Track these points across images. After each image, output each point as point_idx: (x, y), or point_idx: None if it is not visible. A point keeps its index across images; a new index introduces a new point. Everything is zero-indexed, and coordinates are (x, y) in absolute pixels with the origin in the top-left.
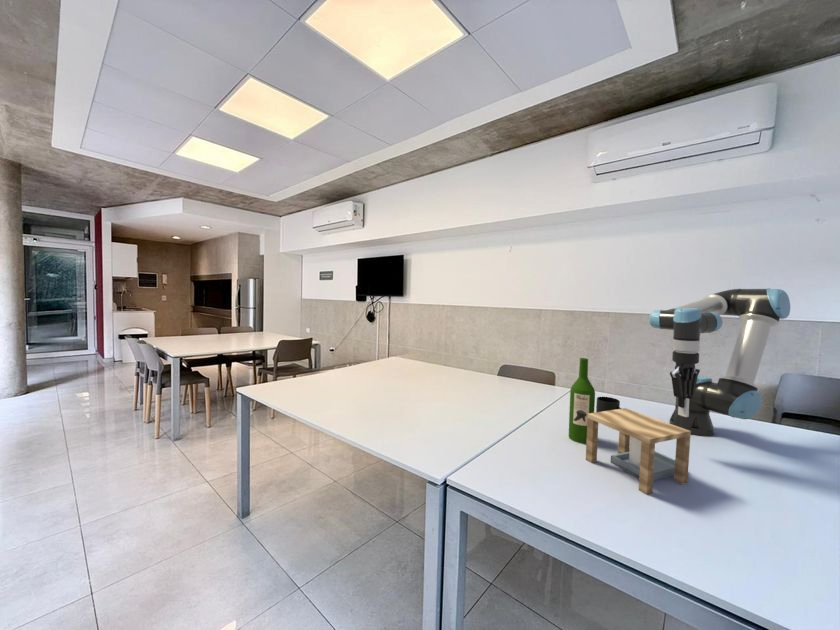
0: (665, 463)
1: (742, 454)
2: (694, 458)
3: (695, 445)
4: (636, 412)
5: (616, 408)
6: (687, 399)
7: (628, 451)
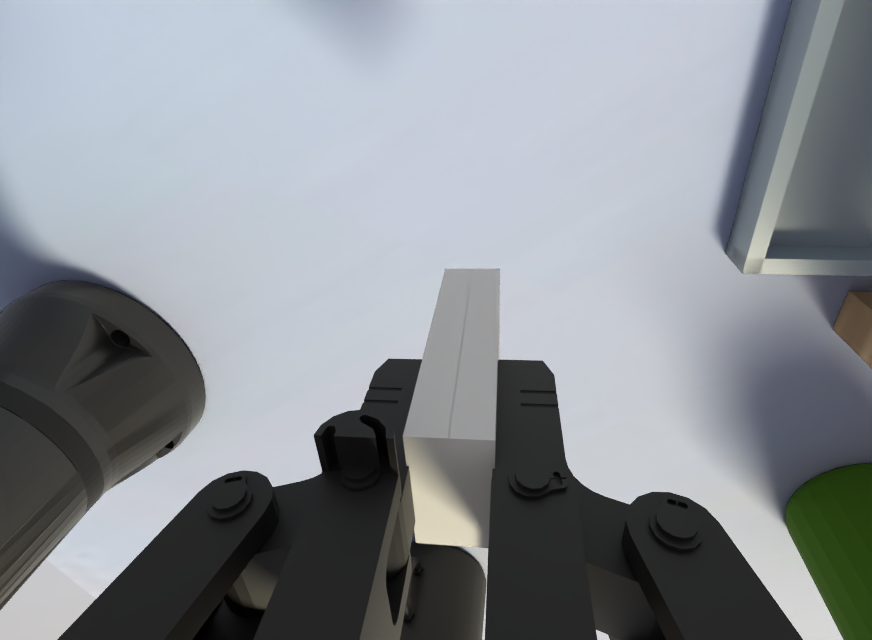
0: (828, 90)
1: (87, 33)
2: (475, 102)
3: (277, 229)
4: None
5: (420, 613)
6: (467, 435)
7: (868, 302)
